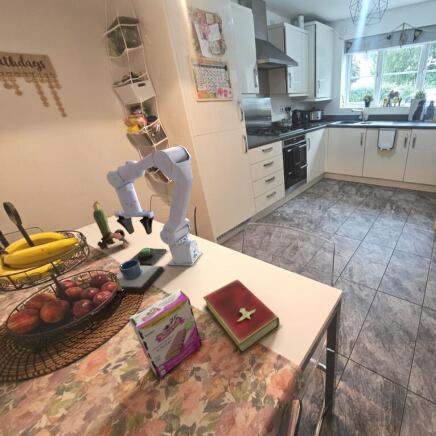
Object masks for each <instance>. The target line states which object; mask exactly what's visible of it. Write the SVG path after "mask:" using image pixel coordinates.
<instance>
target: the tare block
mask: <svg viewBox="0 0 436 436" xmlns="http://www.w3.org/2000/svg"><path fill="white" fill-rule="evenodd" d="M144 248H145V247H144ZM144 248H142V249H144ZM148 248H149V249H150V253H148V254H146V255H142V253H141V250H140V251H138V253H137V254H135V255H134V256H133V257H132V258H130V260H138V261H139V263H140V266H155V264H156V263H158V261H159V260H160V259H161V258H162V257H163V256H164V255H165V254H166V253H167V251H168V250H167V249H166V248H153V247H148Z"/></svg>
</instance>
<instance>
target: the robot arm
mask: <svg viewBox="0 0 436 436" xmlns="http://www.w3.org/2000/svg"><path fill="white" fill-rule="evenodd" d="M192 158H193V157H192V156H191V154H190V153H189V152H188V150H187V148H186V147H184V146H183V145H180V144H177V145H174V146H172V147H168V148H164V149H158V150H155V151H153V152H150V153H148V154H147V155H145V156H144V157H143V158H142V159H140V160H139V161H138V160H131V159H129V160H126V161H125V162H124V163H125V164H123V165H120V166H117V169H115V170H110V171H108V172H107V174H106V181H107V182H108V184H109V186H111V187H112V188H114V189H115V192H116V196H117V198H118V201H119V203H120V206H121V208H122V210H117V211H115V212H114V213H113V214H114V217H115V218H116V222H117V223H118V224H119V225H121V226H122V228H124V230H125V231H126V232H127V233H128V235H132V234H133V233H135V227H134V224H133V219H132V218H141V219H139V223H140V225H142V226H143V228H144V231H145V233H146V235H148V236H149V235H151V234H153V221H154V218H155V214H154V211H153V210H145V209H143V208H142V206H141V204H140V201H139V198H138V195H137V192H136V189H135V187H136V184H135V181H136V180H138V179H140V178H143V177H144V176H145V174H146V171H147V170H148V169H151V168H153V167H154V168H155V169H156V168H157V169H158V170H159V171H160V172H161V173H163V175H165V176H166V177H167V179H169V180H171V181H173V186H172V193H171V199H170V200H171V201H170V207H169V213H168V214H169V215H168V219H167V220H166V222H165V223H164V224H163V226H162V230H161V231H160V232H159V237H160V240H161V241H162V242H163V243H164V244H166V245H167V246H168V248H169V252H170V255H171V260H170V261H169V262H168V265H169V266H188V267H189V266H190V267H191V266H193V265H194V264H195V262H196V261H197V260H198V258H199V257H200V256H201V252H200V250H199V247H198V242H197V240H195V239H192V238H190V237H189V236H190V234H189V233H190V232H191V226H190V222H191V220H189V218H187V214H188V209H189V203H190V198H191V193H192V187H193V182H194V176H193V171H192V166H191V163H192Z"/></svg>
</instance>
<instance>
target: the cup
mask: <svg viewBox="0 0 436 436" xmlns="http://www.w3.org/2000/svg"><path fill="white" fill-rule="evenodd" d="M118 267H119V268H118V269H119V272H120V271H121V273H122V276H123V278H124V279H127V280H132V279H135V278H137V277H139V276H140V275H141V273H142V268H141V266H140V263H139V261H138V260H131V259H129V260H126V261H125V262H122V263H121V264H120V265H119V266H118Z"/></svg>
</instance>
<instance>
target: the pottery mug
mask: <svg viewBox="0 0 436 436" xmlns="http://www.w3.org/2000/svg"><path fill="white" fill-rule="evenodd" d="M125 233H126V232H125V231H124V229H123V230H122V229H121V228H118V229H116V230H114V232H112V231H111V232H108V233H107V234H106V235H104V236H102V237H101V238H100V240H101V241H98V242H97V246H98V247H99V249H100V250H101V251H102V250H105V249H107V250H109V247H108V245H114V244H116V242H115V241H114V239H115V240H117V241H119V242H122V244H121V246H122V247H123V248H124V249H126V248H127V247H128V246H129V243H130V242H128V240H127V239H126V237H125V236H126V234H125Z"/></svg>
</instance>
